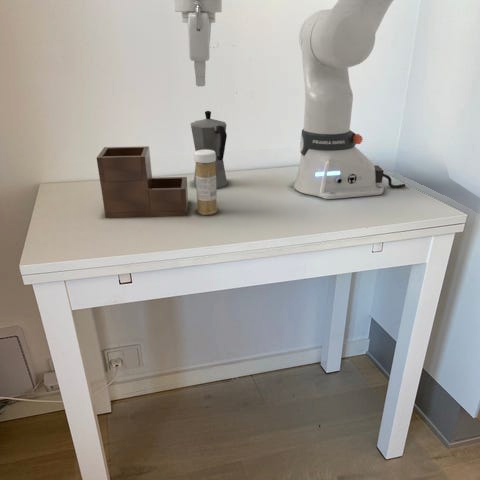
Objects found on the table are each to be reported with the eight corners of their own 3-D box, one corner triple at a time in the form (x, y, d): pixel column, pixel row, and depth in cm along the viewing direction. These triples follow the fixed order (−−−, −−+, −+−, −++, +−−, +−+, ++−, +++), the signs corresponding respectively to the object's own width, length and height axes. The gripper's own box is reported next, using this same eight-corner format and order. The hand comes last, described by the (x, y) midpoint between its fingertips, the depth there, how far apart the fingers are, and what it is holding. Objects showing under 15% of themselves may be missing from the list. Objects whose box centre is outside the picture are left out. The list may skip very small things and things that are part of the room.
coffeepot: (184, 180, 134) (179, 108, 124) (215, 175, 138) (212, 105, 128) (209, 195, 122) (206, 118, 113) (242, 189, 126) (242, 114, 117)
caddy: (188, 201, 118) (184, 145, 112) (187, 215, 110) (183, 155, 104) (112, 203, 118) (104, 147, 111) (105, 217, 109) (96, 157, 103)
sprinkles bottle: (209, 207, 115) (207, 147, 108) (221, 212, 112) (219, 151, 105) (193, 211, 112) (189, 151, 105) (205, 217, 109) (202, 155, 102)
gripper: (216, 0, 84) (217, 89, 91) (214, 2, 101) (215, 77, 108) (178, 0, 83) (183, 89, 91) (183, 2, 101) (186, 77, 108)
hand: (200, 83), depth 100 cm, fingers open, 8 cm apart
